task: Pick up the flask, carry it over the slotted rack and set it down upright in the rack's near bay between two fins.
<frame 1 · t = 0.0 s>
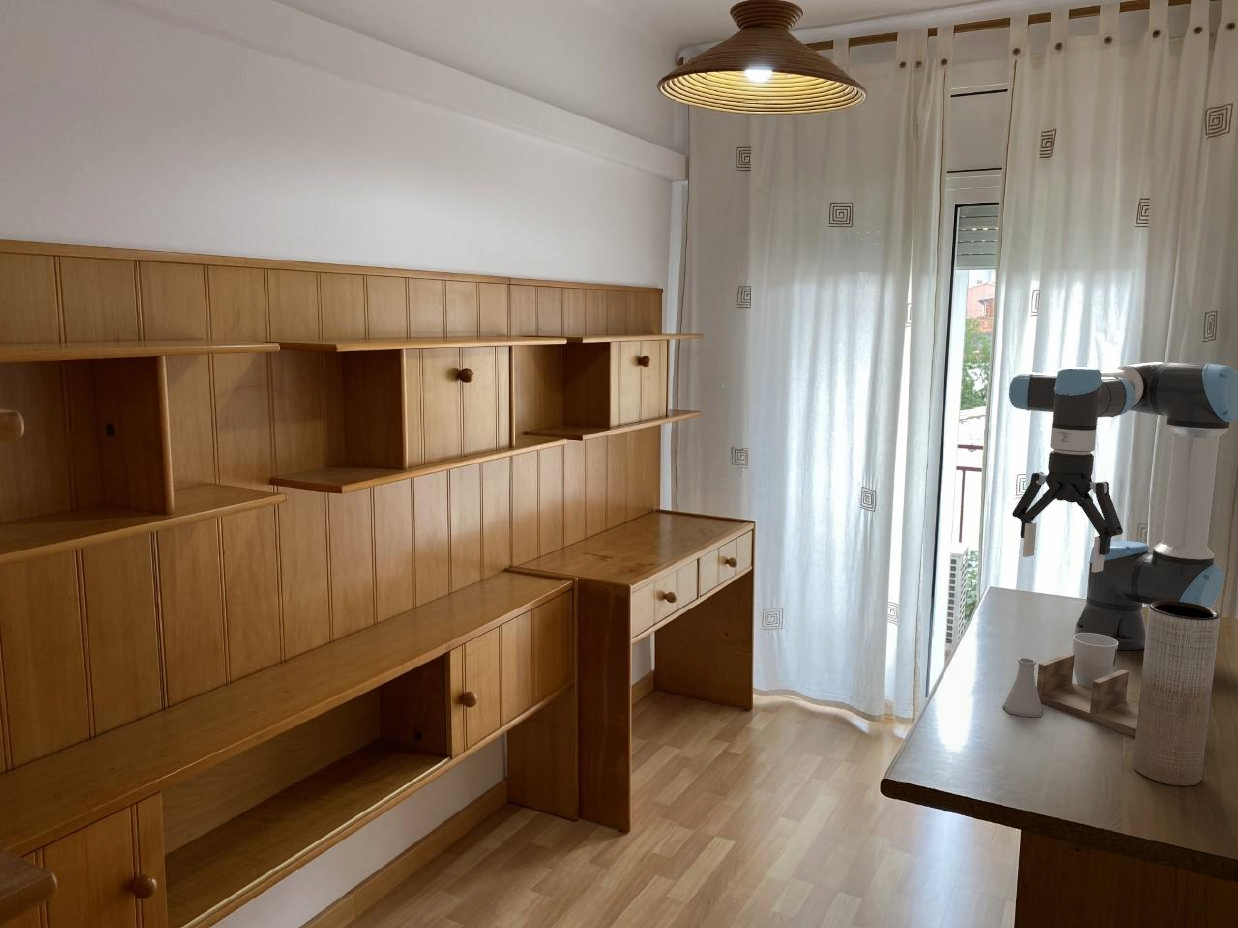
hand: (1061, 563, 184), 28 cm above the table, fingers open, 13 cm apart
rack: (1107, 713, 184), on the table
flask: (1022, 711, 185), on the table
vase: (1166, 773, 161), on the table
cup: (1091, 687, 198), on the table
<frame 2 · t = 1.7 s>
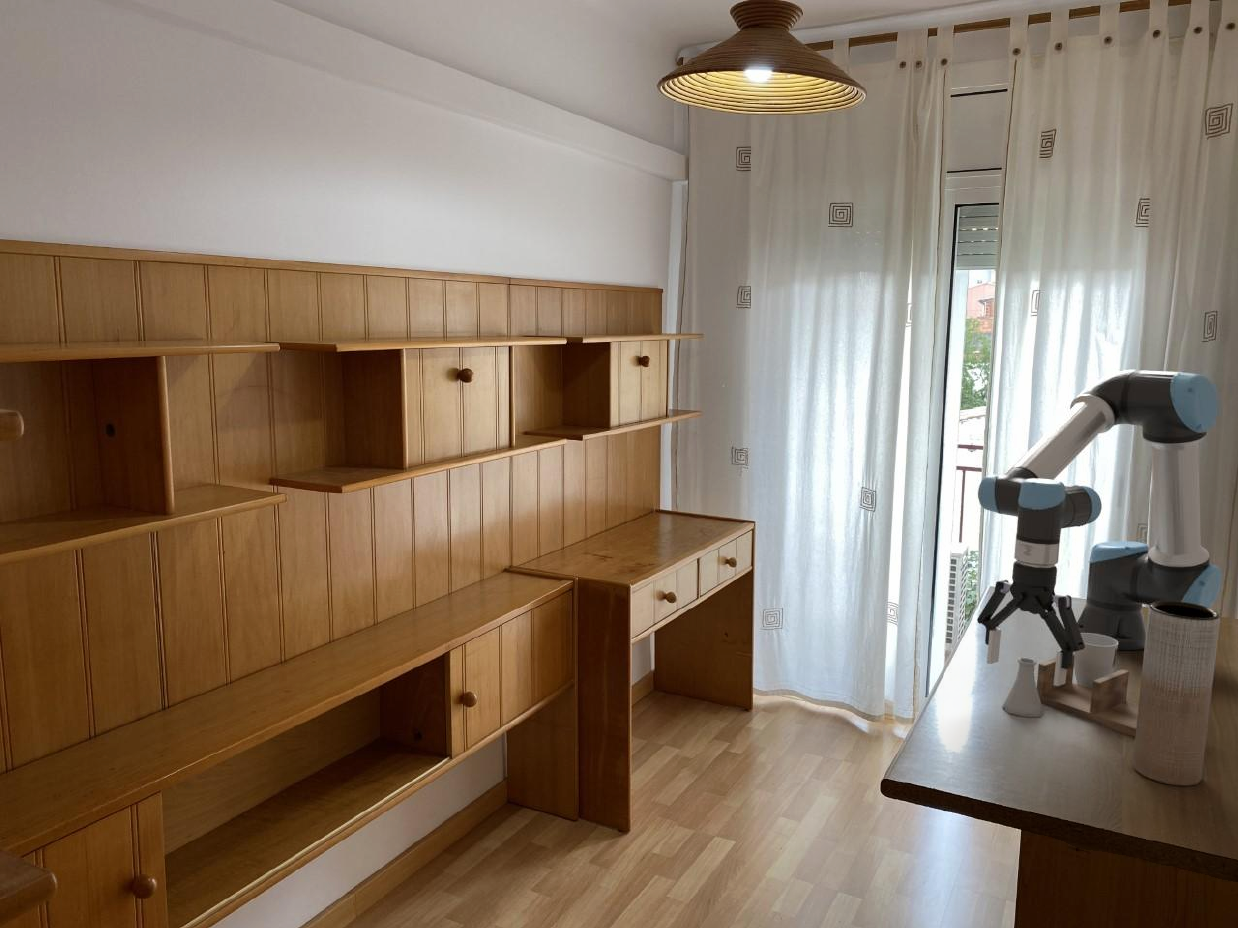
hand: (1025, 673, 184), 7 cm above the table, fingers open, 13 cm apart
nothing on the table moved.
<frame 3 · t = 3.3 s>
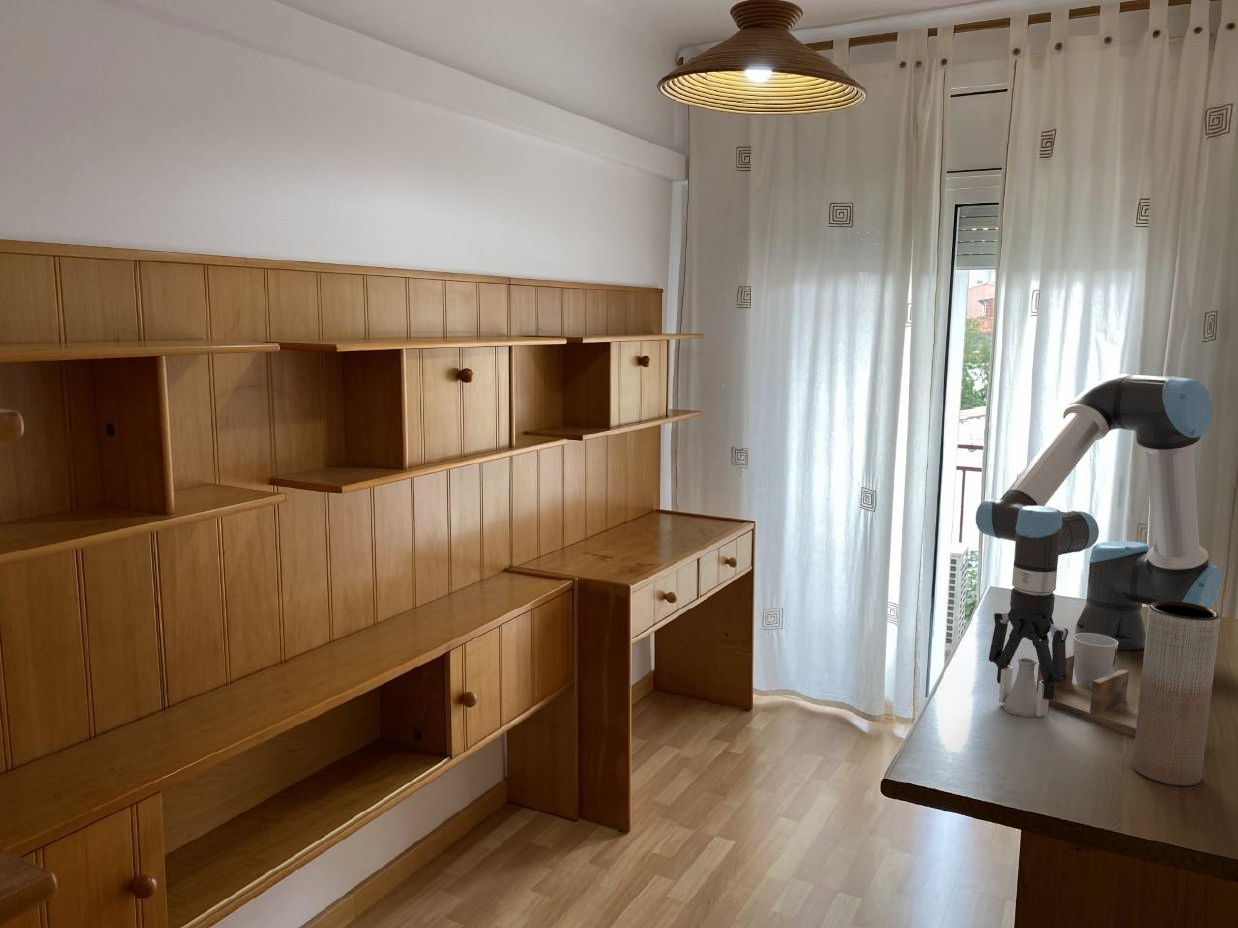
hand: (1022, 707, 185), 1 cm above the table, fingers closed on flask, 7 cm apart
flask: (1022, 711, 185), on the table, touching gripper
everything else where it was.
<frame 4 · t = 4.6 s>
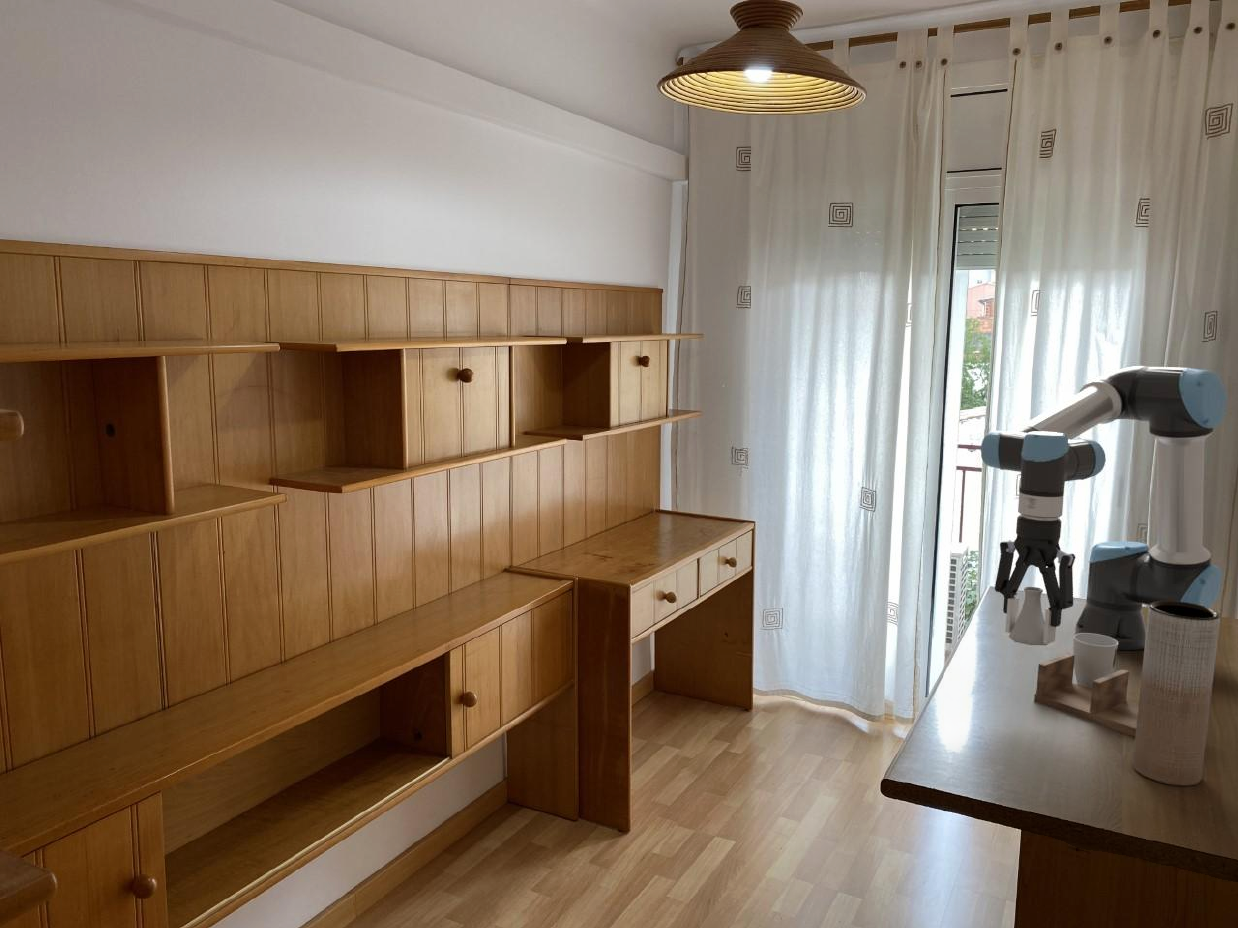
hand: (1029, 636, 183), 15 cm above the table, fingers closed on flask, 7 cm apart
flask: (1029, 641, 183), point 14 cm above the table, touching gripper
everything else where it was.
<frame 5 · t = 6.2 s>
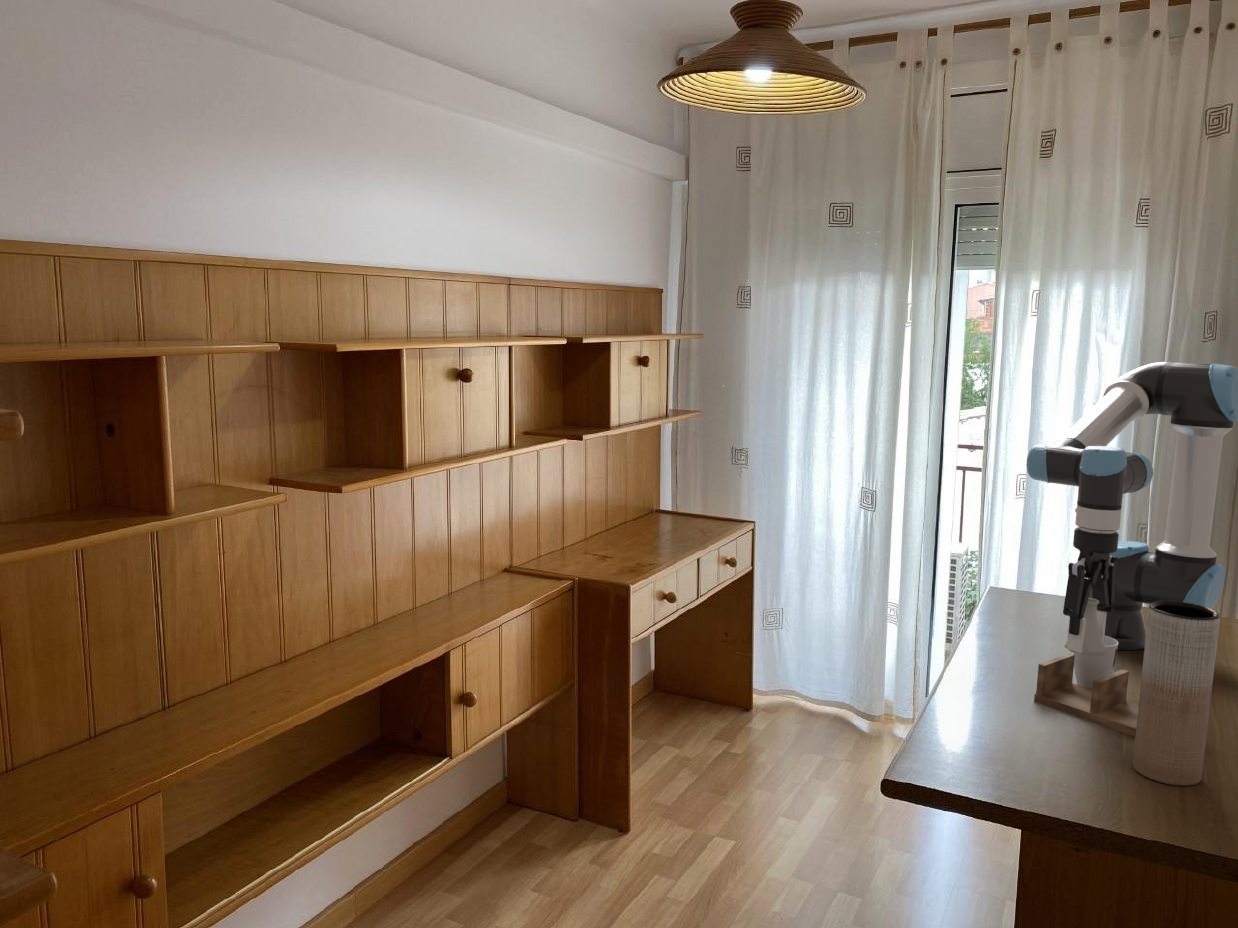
hand: (1085, 646, 187), 12 cm above the table, fingers closed on flask, 7 cm apart
flask: (1084, 651, 187), point 11 cm above the table, touching gripper
everything else where it was.
when the fingers open (3 cm above the table, at t = 8.3 s): flask drops 1 cm, resting on rack.
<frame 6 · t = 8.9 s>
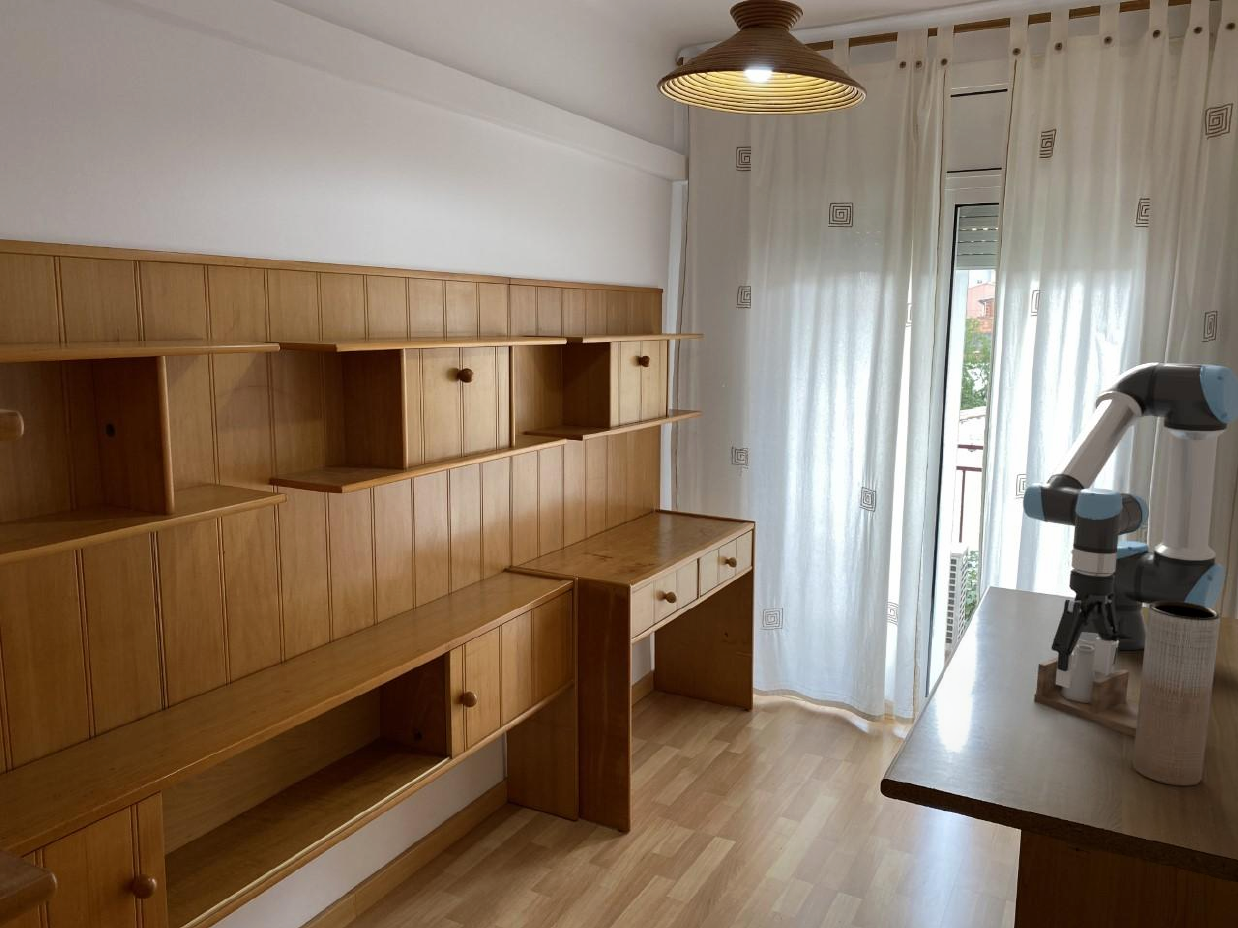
hand: (1082, 678, 188), 5 cm above the table, fingers open, 13 cm apart
flask: (1080, 698, 188), point 1 cm above the table, touching rack
cup: (1091, 687, 198), on the table, touching gripper
everything else where it was.
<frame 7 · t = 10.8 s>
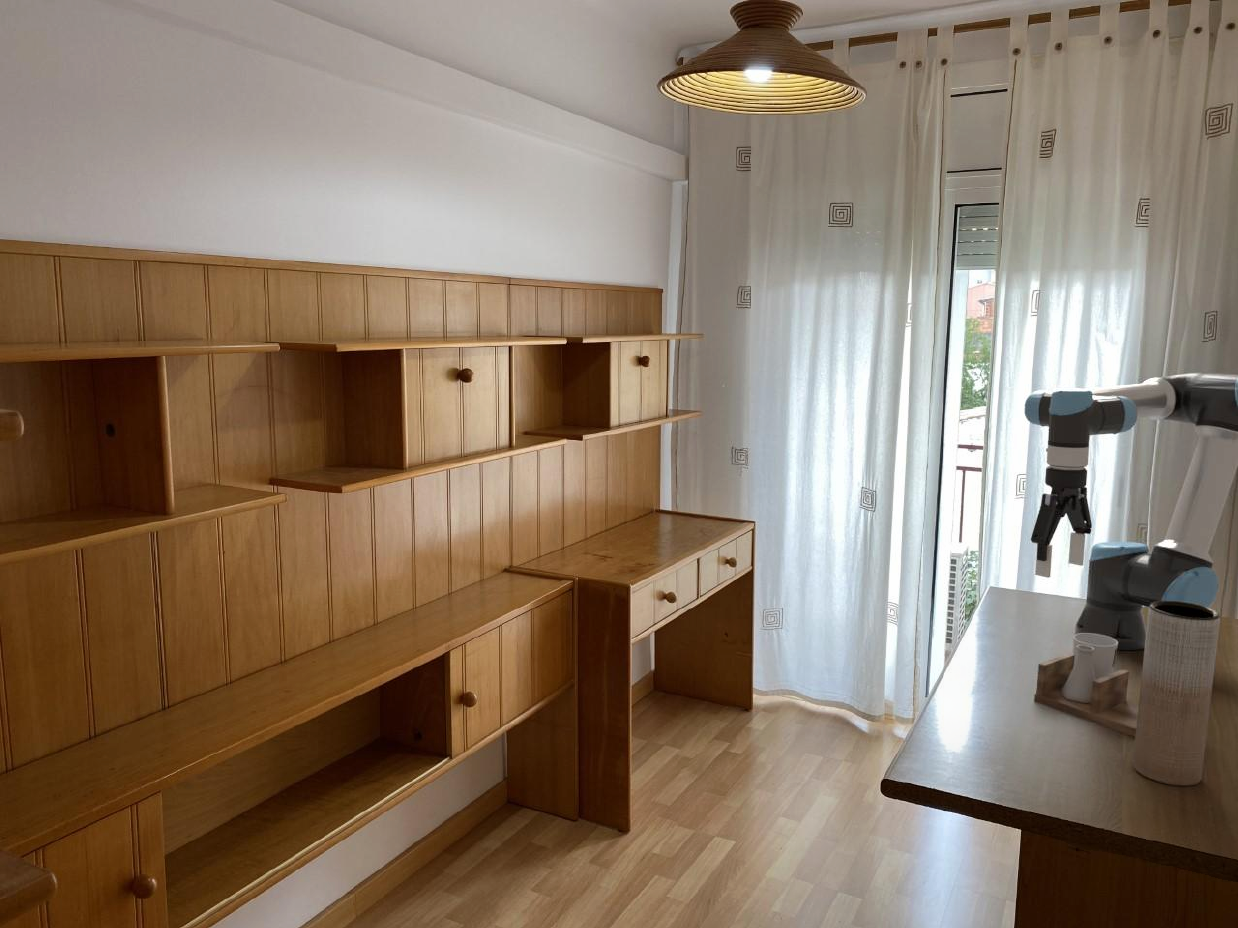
hand: (1059, 570, 198), 23 cm above the table, fingers open, 13 cm apart
cup: (1091, 687, 198), on the table
everything else where it was.
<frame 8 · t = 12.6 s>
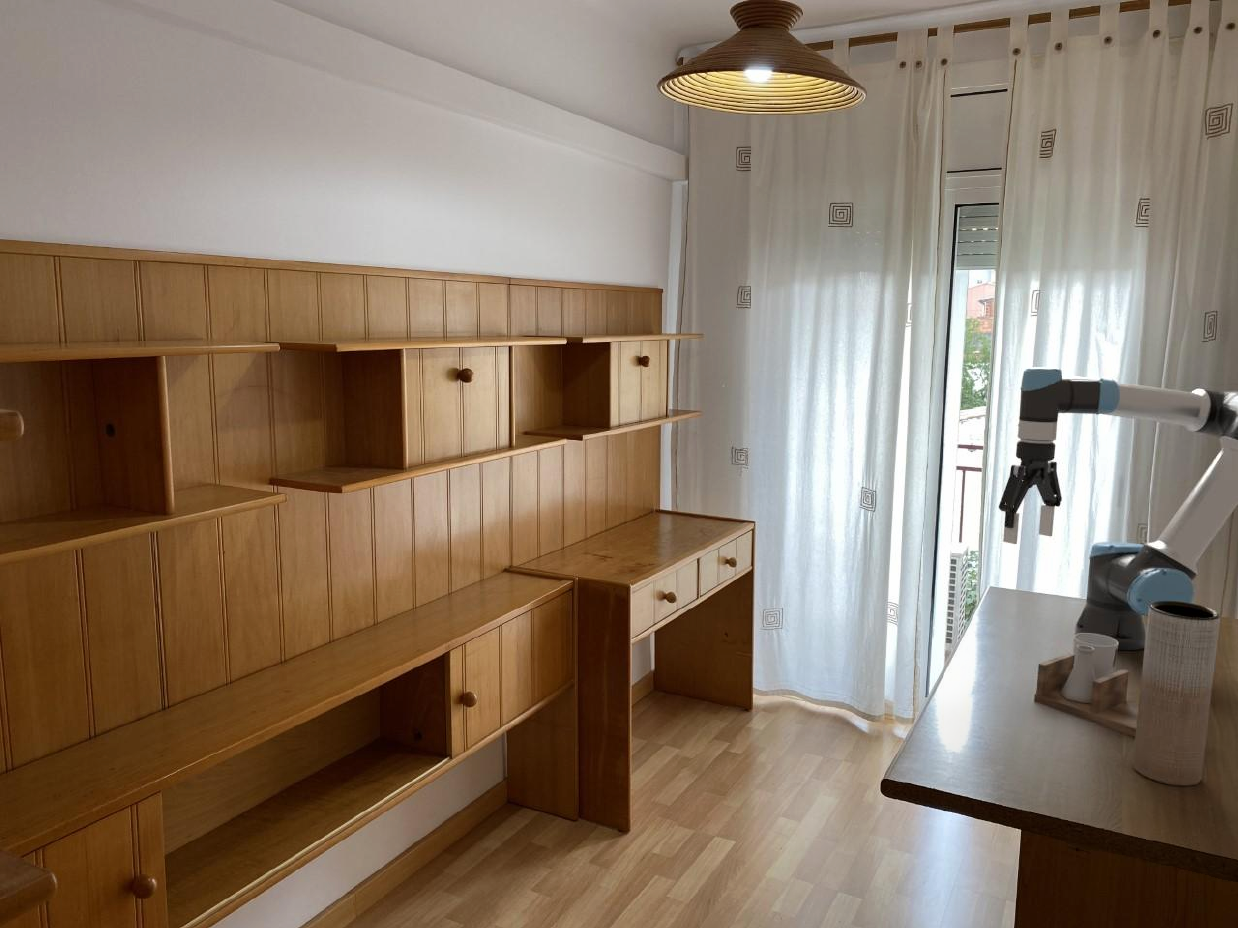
hand: (1028, 539, 210), 27 cm above the table, fingers open, 13 cm apart
nothing on the table moved.
at the end: flask inside the target area on the rack (0.2 cm from its centre), point 1.3 cm above the rack's base; flask tilted 0°; the gripper is holding nothing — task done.
